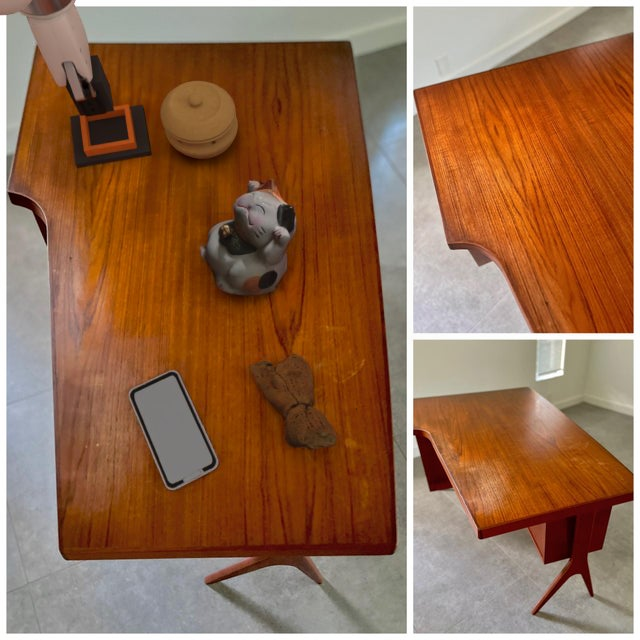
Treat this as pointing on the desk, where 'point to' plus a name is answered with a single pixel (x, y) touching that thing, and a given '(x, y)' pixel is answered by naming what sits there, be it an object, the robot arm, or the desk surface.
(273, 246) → the lucky cat figurine
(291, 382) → the sculpture
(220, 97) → the pot
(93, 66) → the dark grey cube
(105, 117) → the base pad
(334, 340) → the desk surface
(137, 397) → the smartphone
